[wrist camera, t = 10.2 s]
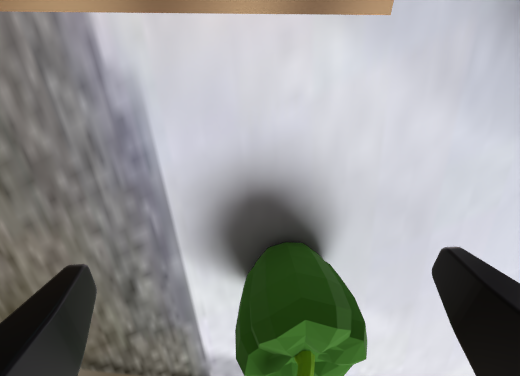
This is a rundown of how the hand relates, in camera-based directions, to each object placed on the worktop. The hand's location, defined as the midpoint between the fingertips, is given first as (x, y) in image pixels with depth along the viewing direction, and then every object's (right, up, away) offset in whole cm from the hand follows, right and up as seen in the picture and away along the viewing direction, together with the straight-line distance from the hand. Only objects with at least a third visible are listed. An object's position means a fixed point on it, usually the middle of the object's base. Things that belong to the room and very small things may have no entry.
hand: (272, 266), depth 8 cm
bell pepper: (+2, -4, +18) cm, 18 cm away
